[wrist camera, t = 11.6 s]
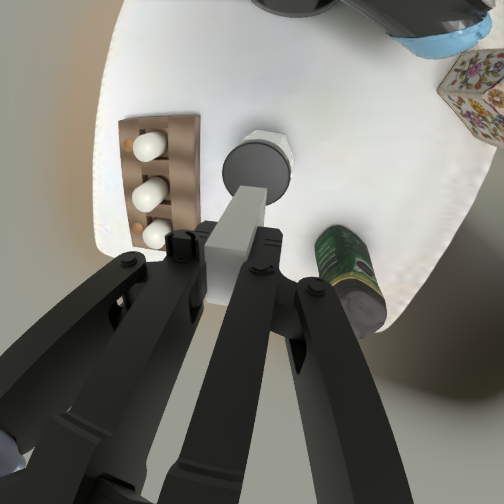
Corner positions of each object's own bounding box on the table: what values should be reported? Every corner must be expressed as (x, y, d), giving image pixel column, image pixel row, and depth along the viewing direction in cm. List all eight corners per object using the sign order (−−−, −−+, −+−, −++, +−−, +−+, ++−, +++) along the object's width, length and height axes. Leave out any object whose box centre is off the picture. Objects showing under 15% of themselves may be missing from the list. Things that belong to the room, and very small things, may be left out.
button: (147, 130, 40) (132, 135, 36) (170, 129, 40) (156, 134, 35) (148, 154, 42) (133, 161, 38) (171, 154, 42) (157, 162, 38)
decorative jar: (474, 139, 31) (540, 171, 16) (434, 92, 30) (502, 100, 15) (500, 98, 25) (567, 115, 10) (462, 49, 23) (529, 44, 8)
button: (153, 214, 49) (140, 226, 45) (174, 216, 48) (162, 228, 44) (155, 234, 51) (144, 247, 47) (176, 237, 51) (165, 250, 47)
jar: (268, 190, 44) (259, 222, 34) (229, 160, 42) (207, 182, 32) (304, 151, 40) (307, 170, 30) (263, 118, 38) (251, 125, 28)
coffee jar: (307, 248, 49) (308, 324, 33) (335, 217, 45) (352, 287, 29) (344, 275, 51) (357, 351, 35) (373, 248, 46) (399, 321, 31)
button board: (127, 118, 40) (117, 121, 37) (200, 115, 39) (193, 116, 36) (139, 239, 54) (132, 246, 51) (201, 247, 52) (196, 256, 50)
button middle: (145, 176, 43) (130, 186, 39) (167, 177, 43) (154, 187, 38) (147, 199, 45) (133, 211, 41) (169, 201, 45) (156, 213, 41)
